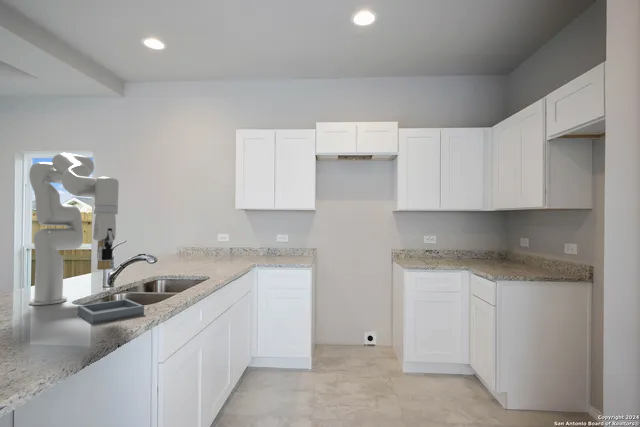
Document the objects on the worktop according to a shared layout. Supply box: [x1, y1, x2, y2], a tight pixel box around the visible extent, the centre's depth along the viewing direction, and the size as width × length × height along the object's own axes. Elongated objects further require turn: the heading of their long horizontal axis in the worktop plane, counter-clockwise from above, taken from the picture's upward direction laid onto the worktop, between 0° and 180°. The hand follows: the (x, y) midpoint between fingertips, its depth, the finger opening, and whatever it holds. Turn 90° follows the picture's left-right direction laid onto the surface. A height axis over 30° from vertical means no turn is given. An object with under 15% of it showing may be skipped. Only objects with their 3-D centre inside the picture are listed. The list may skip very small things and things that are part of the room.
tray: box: [77, 298, 145, 324], centre depth 130 cm, size 17×17×3 cm
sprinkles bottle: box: [96, 239, 112, 271], centre depth 128 cm, size 5×5×13 cm
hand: (104, 258), depth 128 cm, fingers closed on sprinkles bottle, 4 cm apart
